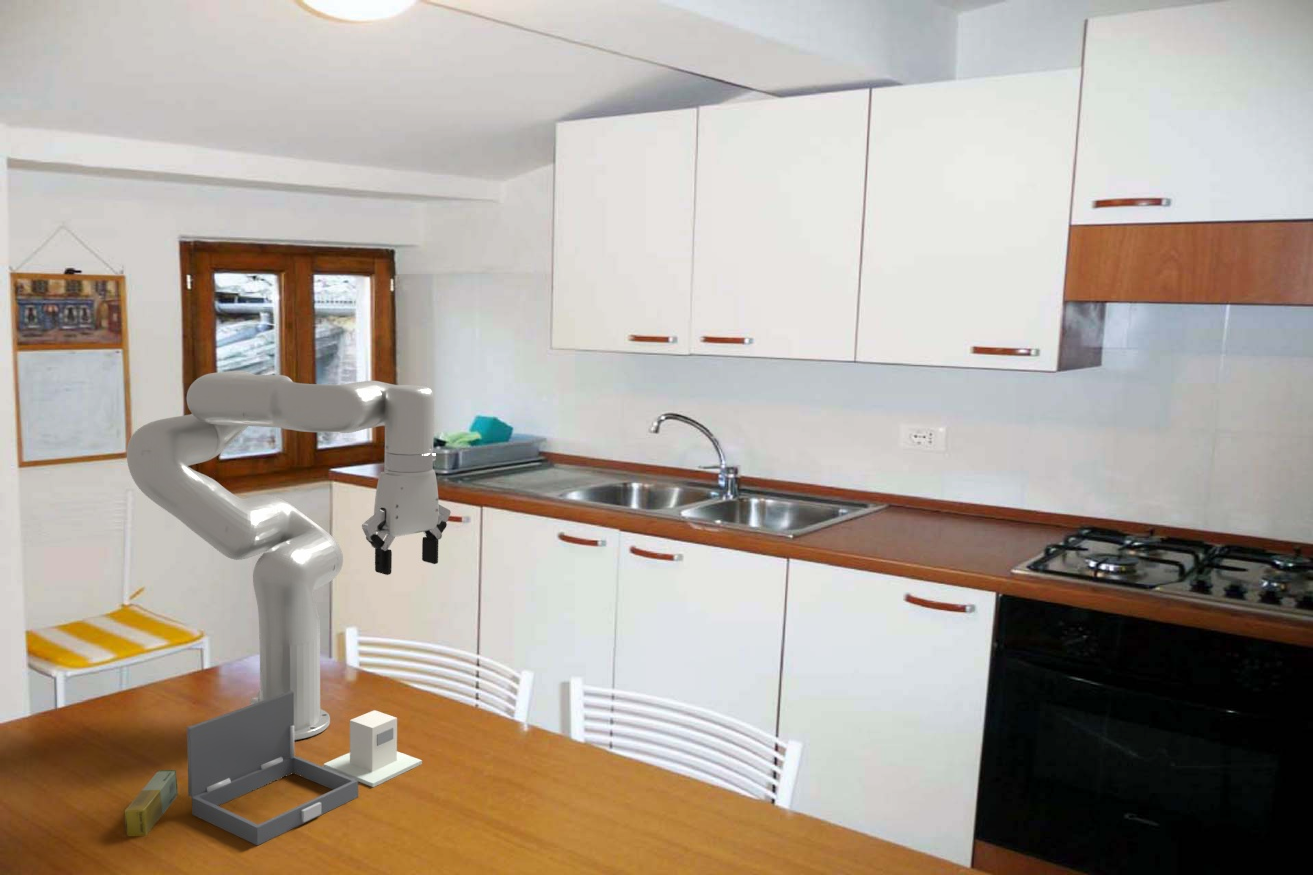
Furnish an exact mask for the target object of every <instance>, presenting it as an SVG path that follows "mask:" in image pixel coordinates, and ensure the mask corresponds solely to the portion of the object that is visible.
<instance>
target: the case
mask: <svg viewBox="0 0 1313 875" xmlns="http://www.w3.org/2000/svg"><path fill="white" fill-rule="evenodd" d="M186 739H187V740H186V744H187V745H186V746H187V751H186V752H187V785H188V787H187V788H188V790H187V791H188V792H187V794H188V797H190V798H191V809H192V812H191V814H192V815H193V816H195V817H196V818H197V817H198V818H199V819H201V820H202V821H203V820H204V821H205V822H207V823H209V824H212V825H214V826H216V827H217V828H220V829H222V830H224V831H226V832H228V833H230V834H233V835H235V836H237V837H239V838H241V839H243V840H245V841H247V842H249V843H251V844H253V845H255V846H260V845H262V844H265V843H267V841H270V840H272V839H274V838H277V837H278V836H280V835H283V834H284V833H286V832H289V831H291V830H292V829H295V828H297V827H299V826H301V825H303V824H305V823H307V822H310V821H311V820H314V819H316V818H318V817H319V816H322V815H324V814H326V813H328V812H330V811H333V810H334V809H336V808H339V807H340V806H342V805H344V804H347V803H349V802H351V801H353V800H355V799H357V798H359V781H358V780H355V779H353V778H350V777H348V776H345V775H343V774H340V773H338V772H335V771H332V770H330V769H327V768H325V767H323V766H322V765H319V764H317V763H314V762H312V761H310V760H307V759H304V758H302V757H299V756H298V755H295V740H294V692H291V691H289V692H287V693H284V694H281V695H278V696H275V697H272V698H269V699H267V700H264V701H261V702H258V703H255V704H252V705H251V704H249V705H246V706H244V707H240V708H239V709H236V710H232V711H229V712H226V713H224V714H221V715H219V716H218V715H217V716H216V717H212V718H210V719H207V720H204V721H202V722H198V723H196V724H193V725H189V726H187V727H186ZM291 773H293V774H294V773H296V774H295V775H297V774H298V775H297V776H299V775H301V776H300V777H302V778H305V779H307V780H309V781H311V782H314V783H317V784H319V785H321V786H323V787H327V788H328V789H331V790H330V791H328V792H326V793H323V794H321V795H319V796H317V797H315V798H313V799H310V800H308V801H306V802H305V803H302V804H300V805H297V806H295V807H293V808H291V809H289V810H286V811H285V812H282V813H280V814H278V815H275V816H273V817H272V818H270V819H267V820H266V821H263V822H261V823H255V822H254V821H252V820H250V819H247V818H246V817H242V816H240V815H239V814H237V813H234V812H232V811H230V810H227V809H226V808H223V807H220V805H223V804H226V803H228V802H230V801H233V800H235V799H236V798H239V797H241V795H242V796H243V794H244V795H246V794H248V792H249V793H251V792H253V791H256V790H257V788H258V789H259V788H262V786H263V787H264V785H265V786H267V785H269V783H270V782H272V781H274V782H276V781H275V780H277V779H279V780H281V779H282V778H281V777H284V776H286V775H288V776H290V774H291ZM291 775H292V774H291ZM286 777H287V776H286ZM280 778H281V779H280ZM284 778H285V777H284ZM277 781H278V780H277ZM272 783H273V782H272ZM266 784H267V785H266ZM270 784H271V783H270ZM255 789H256V790H255ZM252 790H253V791H252Z"/></svg>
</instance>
